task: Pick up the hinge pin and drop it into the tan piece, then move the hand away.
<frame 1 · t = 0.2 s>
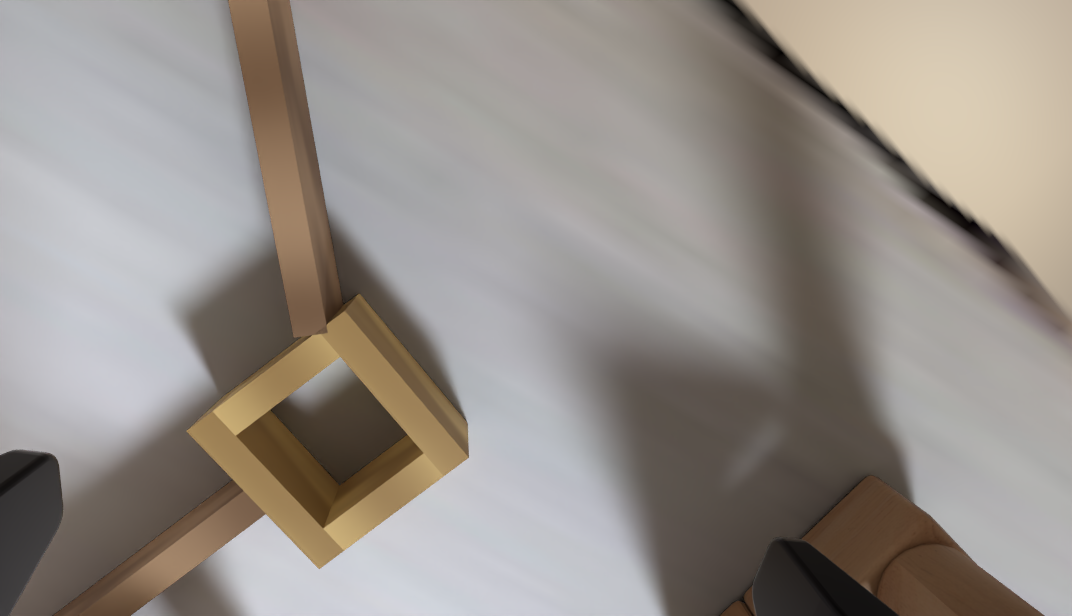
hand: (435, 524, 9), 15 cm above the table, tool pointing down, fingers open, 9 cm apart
wooden block: (795, 586, 27), on the table
tan piece: (347, 411, 24), on the table
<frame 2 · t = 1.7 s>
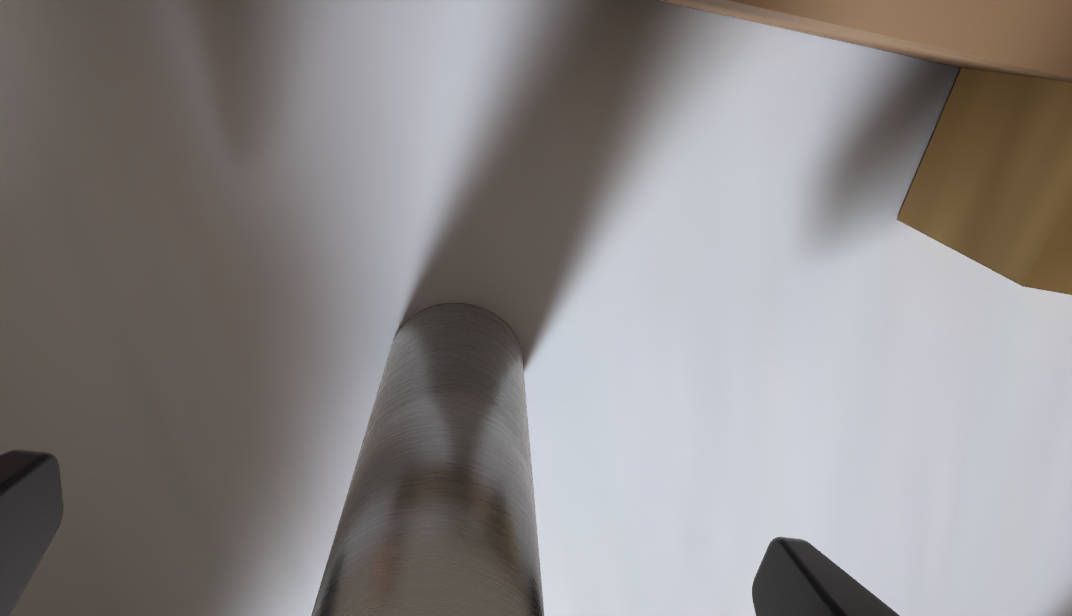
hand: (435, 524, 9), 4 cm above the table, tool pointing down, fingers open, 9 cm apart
hinge pin: (456, 363, 12), on the table
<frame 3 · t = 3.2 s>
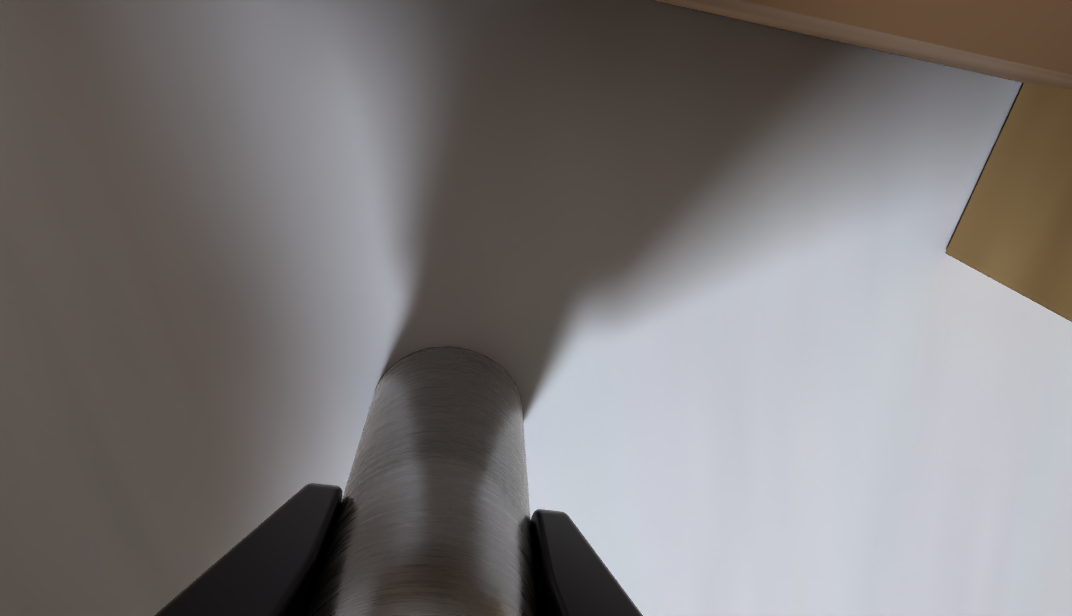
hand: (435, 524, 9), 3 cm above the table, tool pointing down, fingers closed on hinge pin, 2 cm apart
hinge pin: (447, 413, 11), on the table, touching gripper
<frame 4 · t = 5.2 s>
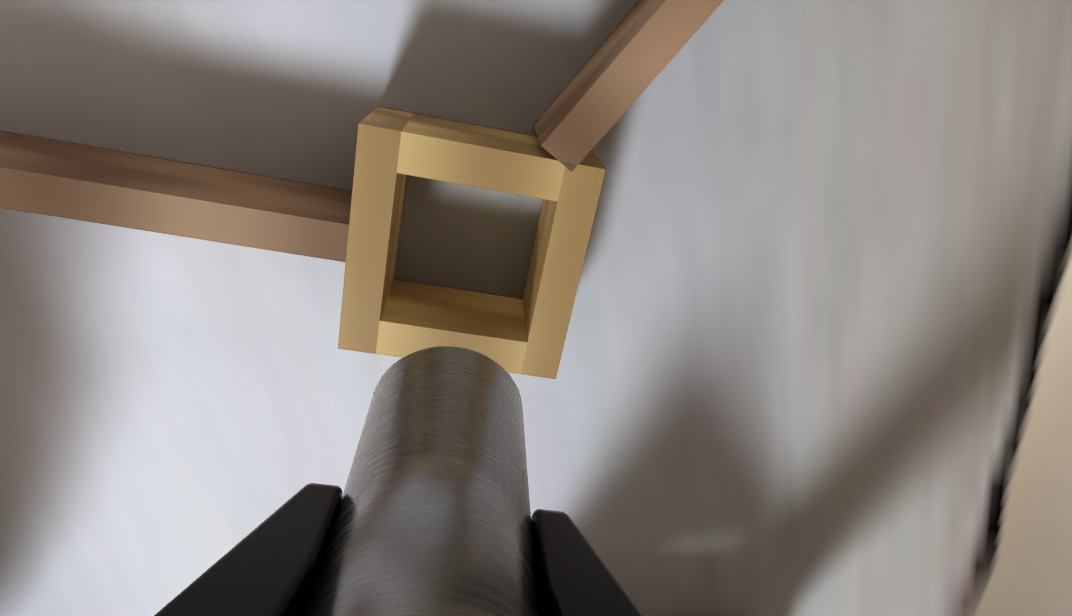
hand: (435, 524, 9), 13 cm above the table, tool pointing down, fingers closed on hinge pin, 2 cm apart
hinge pin: (447, 412, 11), point 10 cm above the table, touching gripper
tan piece: (468, 228, 20), on the table
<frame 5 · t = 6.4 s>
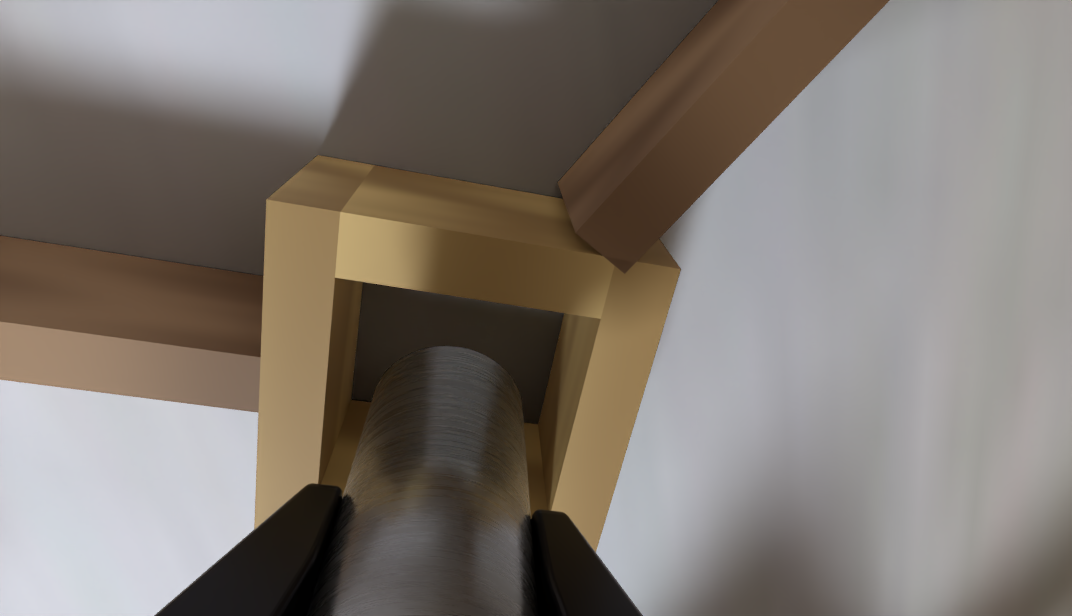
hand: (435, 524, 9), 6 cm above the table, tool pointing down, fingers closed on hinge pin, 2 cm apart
hinge pin: (447, 412, 11), point 3 cm above the table, touching gripper
tan piece: (460, 329, 14), on the table
when the fingers open (4 cm above the table, at t = 7.2 s): hinge pin drops 2 cm, resting in tan piece.
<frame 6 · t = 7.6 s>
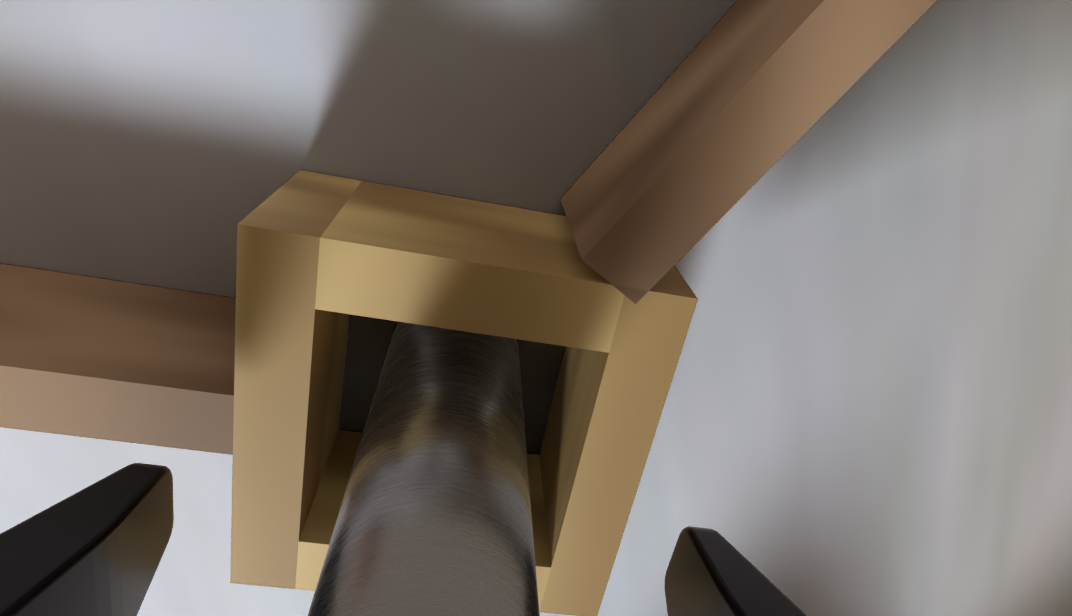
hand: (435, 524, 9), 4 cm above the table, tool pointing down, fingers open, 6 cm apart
hinge pin: (454, 353, 13), resting in tan piece
tan piece: (455, 355, 13), on the table
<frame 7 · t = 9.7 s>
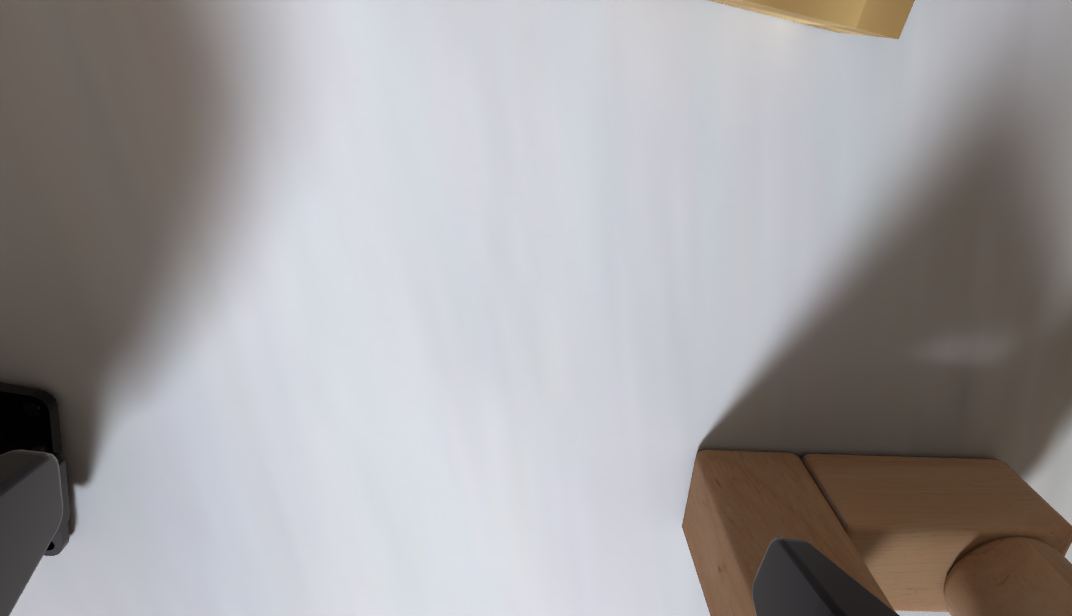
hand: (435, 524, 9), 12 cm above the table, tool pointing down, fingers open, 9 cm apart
wooden block: (834, 488, 24), on the table
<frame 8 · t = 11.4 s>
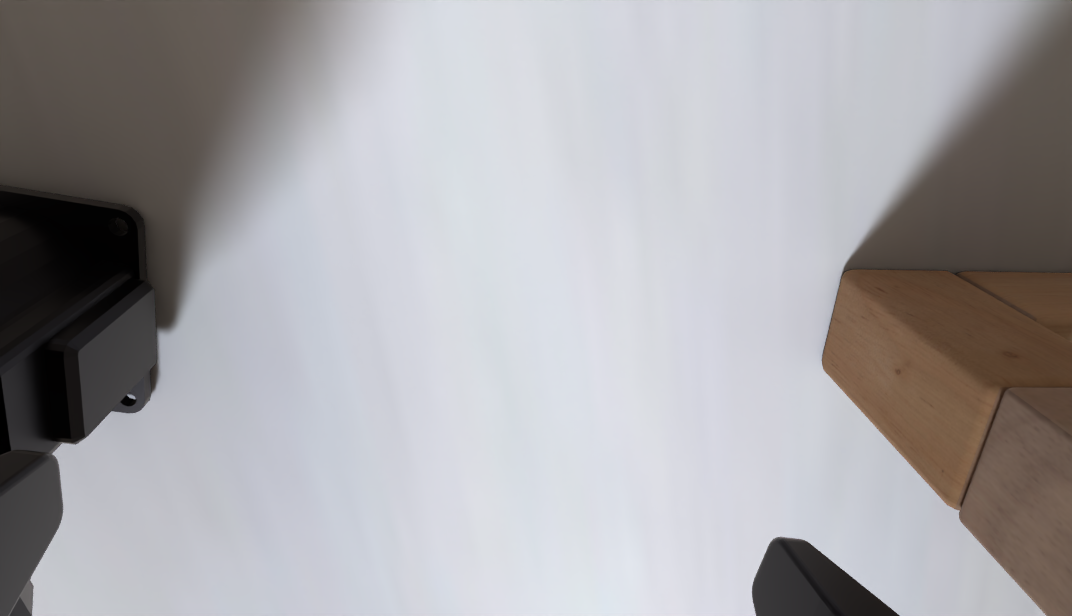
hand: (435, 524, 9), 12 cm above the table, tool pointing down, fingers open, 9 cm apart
wooden block: (982, 317, 22), on the table
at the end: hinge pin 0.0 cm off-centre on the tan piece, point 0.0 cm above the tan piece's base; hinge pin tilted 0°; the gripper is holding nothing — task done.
